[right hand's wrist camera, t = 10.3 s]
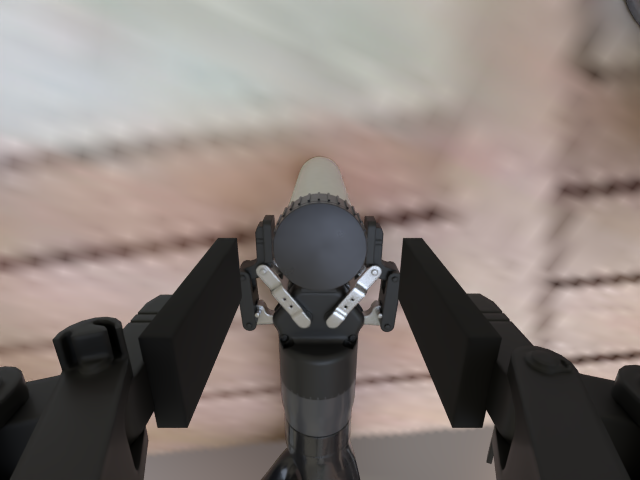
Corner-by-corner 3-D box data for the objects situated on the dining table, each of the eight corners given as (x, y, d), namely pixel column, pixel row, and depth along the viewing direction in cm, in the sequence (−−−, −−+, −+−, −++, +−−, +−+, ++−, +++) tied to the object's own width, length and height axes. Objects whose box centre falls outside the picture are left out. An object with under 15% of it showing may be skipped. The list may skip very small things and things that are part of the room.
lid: (301, 174, 17) (298, 182, 15) (380, 218, 18) (387, 230, 16) (261, 250, 19) (254, 266, 17) (336, 288, 19) (338, 307, 17)
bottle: (311, 148, 33) (302, 189, 16) (348, 169, 34) (378, 229, 16) (291, 186, 34) (263, 261, 17) (328, 205, 35) (335, 296, 18)
